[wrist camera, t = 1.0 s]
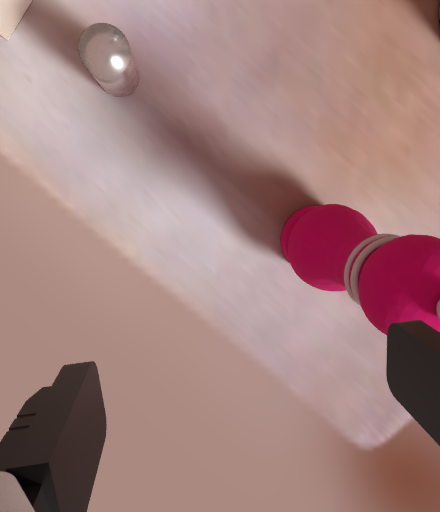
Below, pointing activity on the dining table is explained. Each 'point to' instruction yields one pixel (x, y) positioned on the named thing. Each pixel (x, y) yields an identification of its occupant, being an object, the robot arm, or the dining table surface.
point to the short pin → (109, 59)
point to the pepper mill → (366, 264)
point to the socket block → (11, 15)
